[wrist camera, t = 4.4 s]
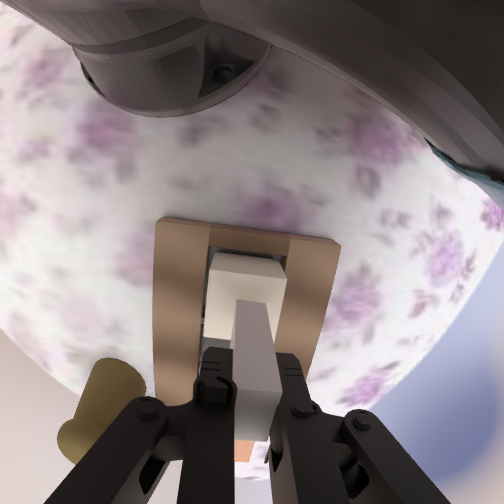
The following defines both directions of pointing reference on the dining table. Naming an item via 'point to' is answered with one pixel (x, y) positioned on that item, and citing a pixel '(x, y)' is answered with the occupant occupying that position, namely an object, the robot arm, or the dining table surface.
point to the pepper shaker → (99, 406)
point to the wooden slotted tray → (194, 284)
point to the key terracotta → (242, 450)
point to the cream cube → (241, 290)
